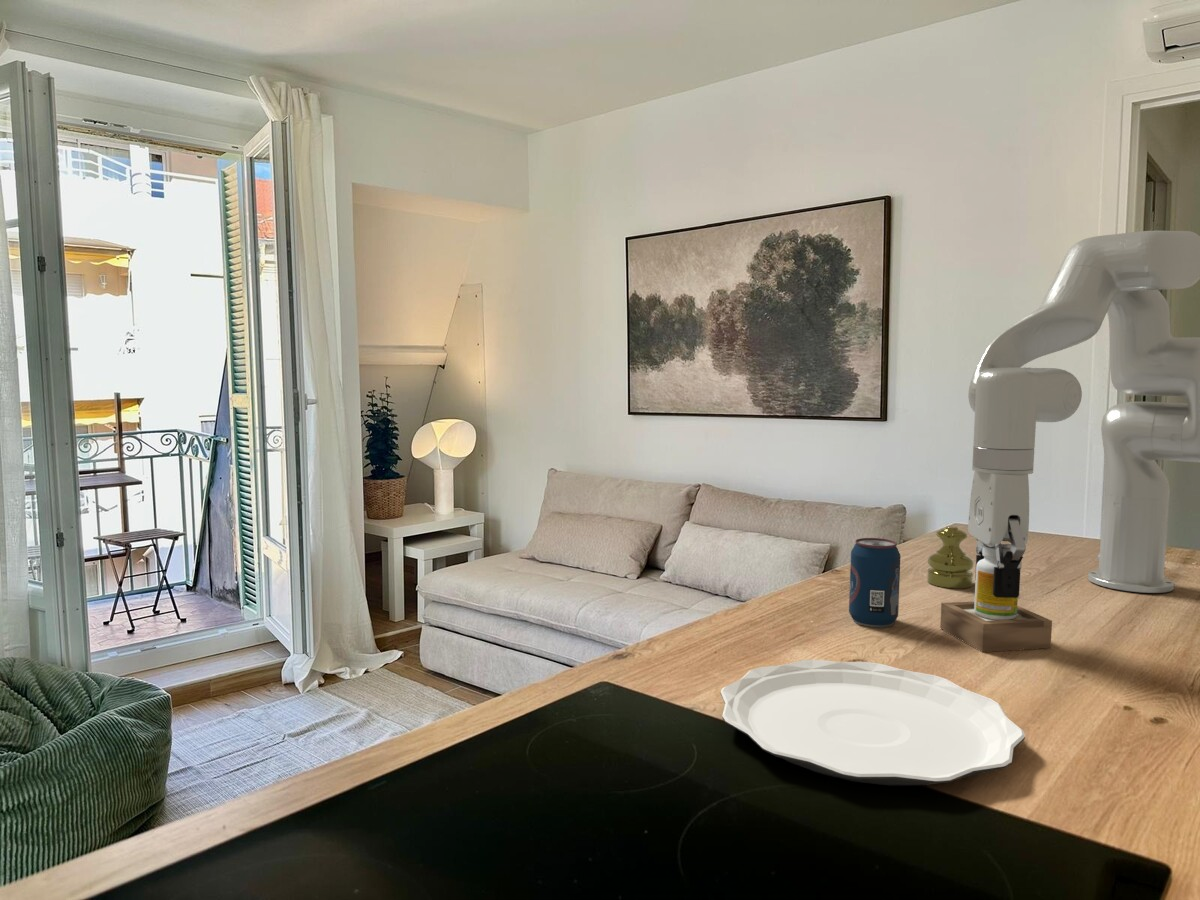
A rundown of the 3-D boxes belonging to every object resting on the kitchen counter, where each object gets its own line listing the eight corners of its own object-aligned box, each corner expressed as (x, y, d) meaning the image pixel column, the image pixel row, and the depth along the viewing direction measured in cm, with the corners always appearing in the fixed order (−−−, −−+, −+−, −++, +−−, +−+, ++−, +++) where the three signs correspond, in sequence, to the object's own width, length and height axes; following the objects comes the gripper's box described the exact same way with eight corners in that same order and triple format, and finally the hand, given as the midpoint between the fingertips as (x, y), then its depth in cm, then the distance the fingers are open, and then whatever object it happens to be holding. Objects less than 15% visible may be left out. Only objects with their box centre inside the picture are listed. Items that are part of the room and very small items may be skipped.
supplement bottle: (1021, 622, 114) (1025, 551, 113) (979, 619, 115) (982, 549, 114) (1010, 610, 119) (1014, 543, 118) (969, 608, 120) (973, 541, 119)
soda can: (846, 613, 128) (849, 536, 127) (894, 616, 127) (897, 538, 126) (850, 627, 122) (853, 545, 120) (901, 630, 120) (904, 547, 119)
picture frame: (940, 628, 121) (941, 602, 121) (1003, 625, 122) (1005, 600, 122) (982, 652, 111) (983, 624, 111) (1050, 648, 113) (1052, 620, 112)
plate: (843, 833, 68) (844, 805, 68) (671, 701, 95) (671, 680, 95) (1090, 766, 80) (1092, 742, 80) (875, 665, 107) (876, 647, 107)
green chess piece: (981, 585, 145) (984, 528, 144) (956, 591, 141) (958, 533, 140) (943, 576, 151) (945, 521, 150) (917, 582, 147) (920, 526, 146)
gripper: (954, 453, 123) (948, 573, 125) (996, 468, 106) (990, 607, 108) (1007, 454, 122) (1001, 575, 124) (1059, 469, 105) (1051, 608, 107)
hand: (996, 588), depth 116 cm, fingers open, 6 cm apart
